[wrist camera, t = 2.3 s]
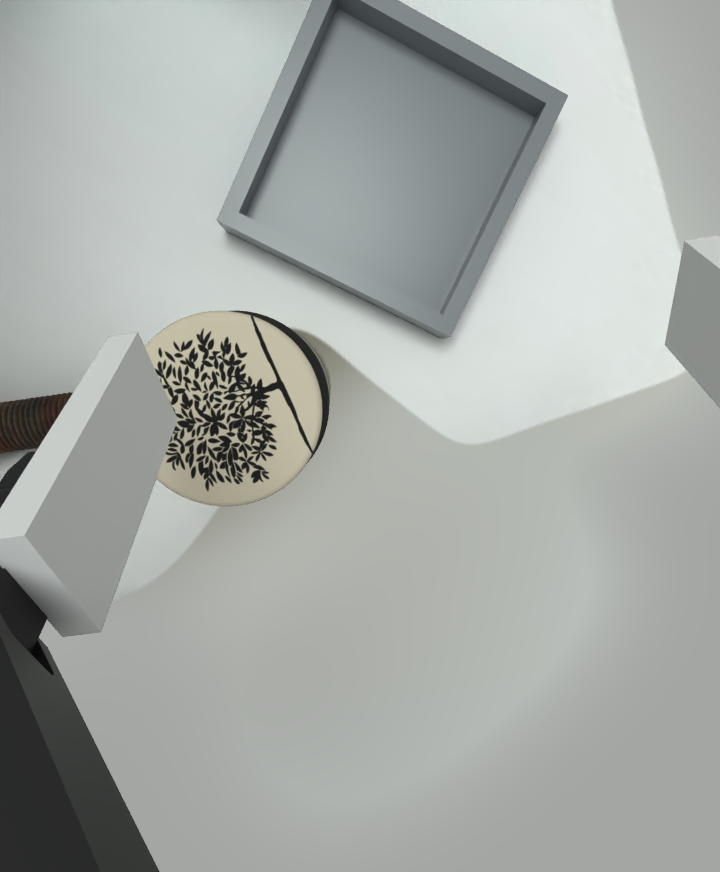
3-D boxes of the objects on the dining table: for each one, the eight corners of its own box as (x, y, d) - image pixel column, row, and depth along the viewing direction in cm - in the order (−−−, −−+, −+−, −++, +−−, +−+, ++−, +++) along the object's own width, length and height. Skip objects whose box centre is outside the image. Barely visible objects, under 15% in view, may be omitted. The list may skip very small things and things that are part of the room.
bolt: (188, 408, 42) (-27, 440, 41) (168, 347, 39) (-65, 379, 38) (180, 460, 37) (-63, 497, 36) (156, 395, 34) (-110, 433, 33)
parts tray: (225, 230, 38) (216, 220, 35) (329, -6, 37) (329, -38, 34) (441, 337, 40) (449, 336, 37) (550, 115, 38) (568, 95, 35)
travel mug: (232, 457, 40) (153, 537, 22) (198, 344, 39) (86, 335, 21) (343, 427, 40) (352, 483, 23) (313, 314, 39) (296, 279, 21)
